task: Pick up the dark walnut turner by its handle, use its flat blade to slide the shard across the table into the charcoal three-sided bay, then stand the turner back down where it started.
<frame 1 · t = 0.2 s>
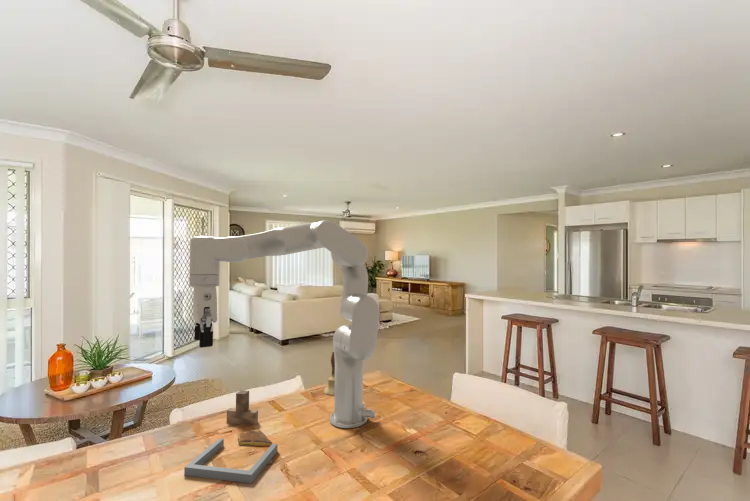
hand: (203, 343, 99), 31 cm above the table, tool pointing down, fingers open, 9 cm apart
bay: (233, 463, 95), on the table
turner: (242, 422, 118), on the table
shard: (257, 441, 108), on the table
hand bell: (333, 392, 146), on the table
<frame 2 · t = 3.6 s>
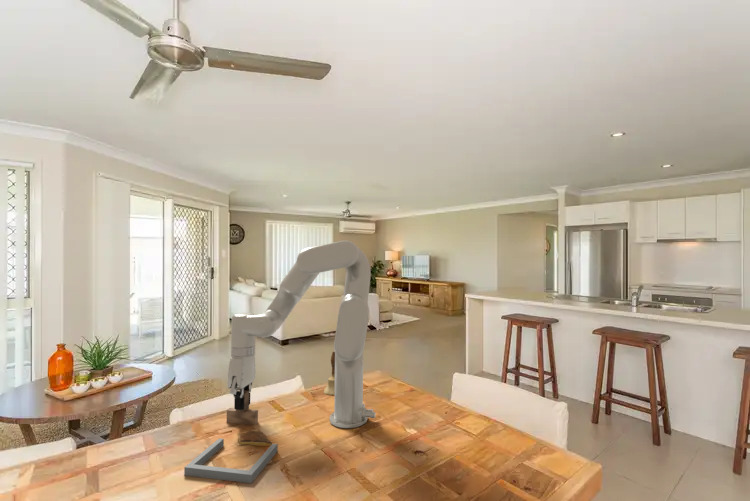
hand: (242, 406, 118), 5 cm above the table, tool pointing down, fingers closed on turner, 3 cm apart
turner: (242, 422, 118), on the table, touching gripper
everything else where it was.
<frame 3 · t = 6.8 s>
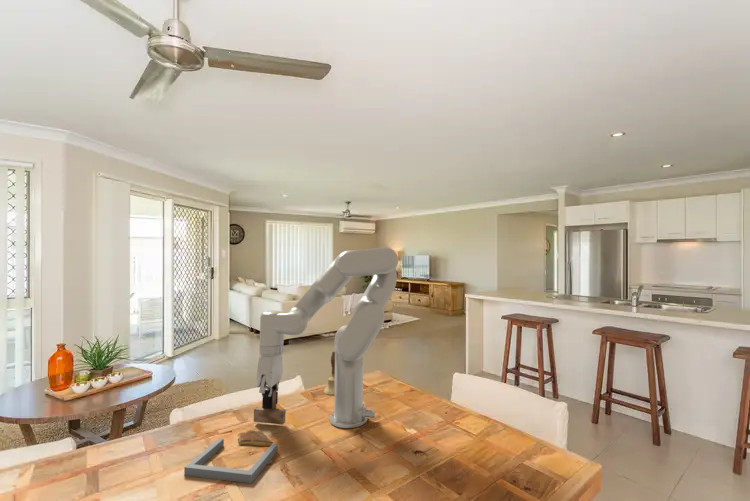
hand: (270, 405, 117), 6 cm above the table, tool pointing down, fingers closed on turner, 3 cm apart
turner: (269, 421, 116), point 1 cm above the table, touching gripper
everything else where it was.
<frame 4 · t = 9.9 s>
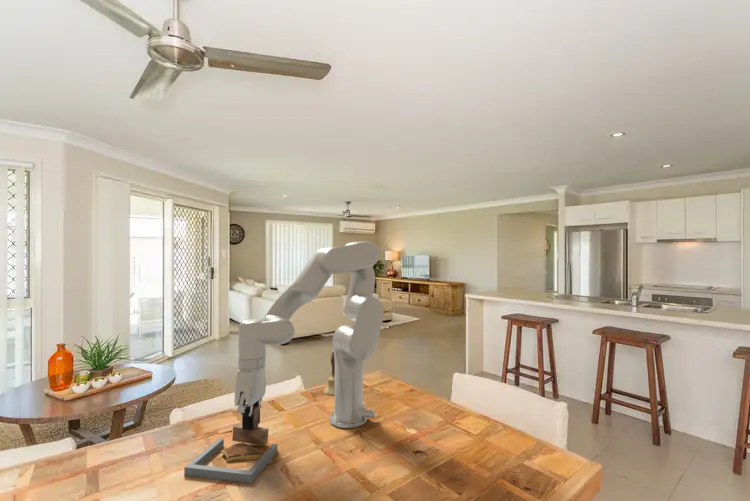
hand: (251, 425, 104), 6 cm above the table, tool pointing down, fingers closed on turner, 3 cm apart
turner: (250, 441, 104), point 1 cm above the table, touching shard, gripper
shard: (244, 454, 100), on the table, touching turner
everything else where it was.
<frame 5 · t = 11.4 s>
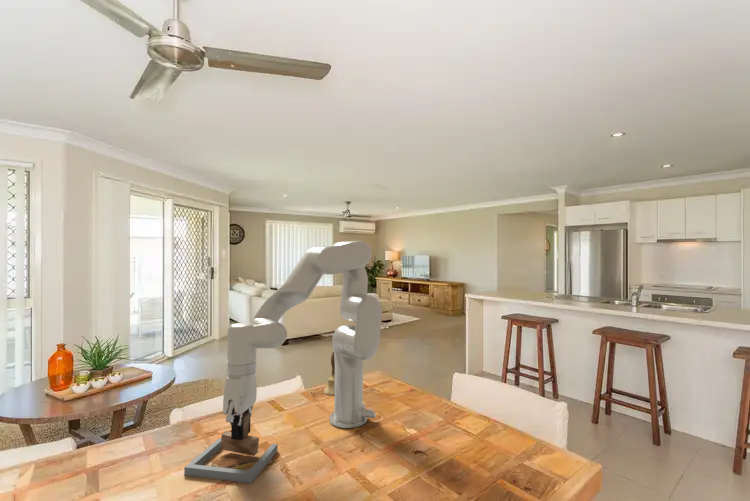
hand: (240, 435, 98), 6 cm above the table, tool pointing down, fingers closed on turner, 3 cm apart
turner: (239, 450, 98), point 1 cm above the table, tilted 5°, touching shard, gripper
shard: (235, 464, 95), on the table, touching turner
everything else where it was.
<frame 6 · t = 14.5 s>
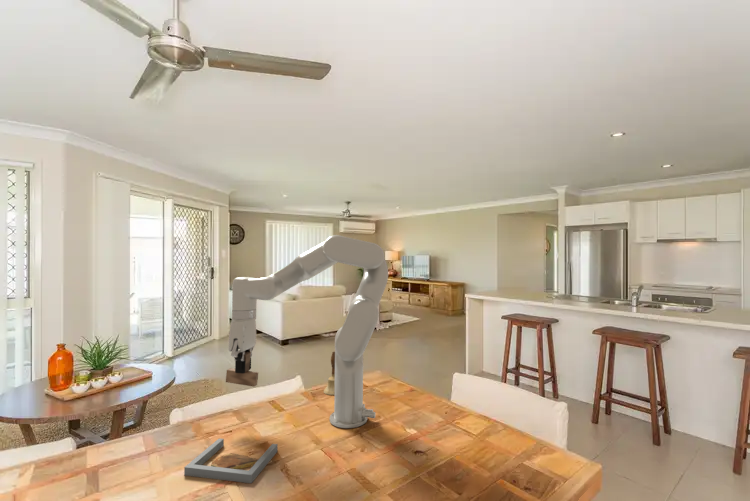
hand: (243, 370, 117), 17 cm above the table, tool pointing down, fingers closed on turner, 3 cm apart
turner: (241, 383, 117), point 13 cm above the table, tilted 5°, touching gripper
shard: (235, 464, 95), on the table
everything else where it was.
when the fingers open (6 cm above the table, at t = 17.0 s): turner drops 2 cm, on the table.
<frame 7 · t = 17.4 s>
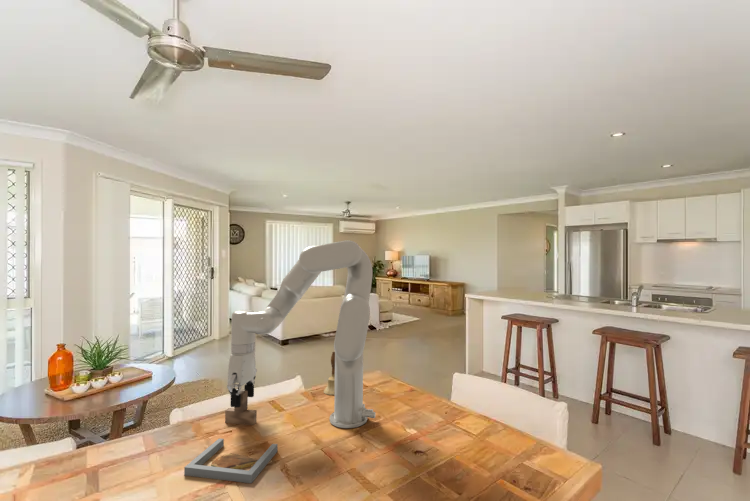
hand: (242, 401, 118), 7 cm above the table, tool pointing down, fingers open, 7 cm apart
turner: (240, 422, 118), on the table
everything else where it was.
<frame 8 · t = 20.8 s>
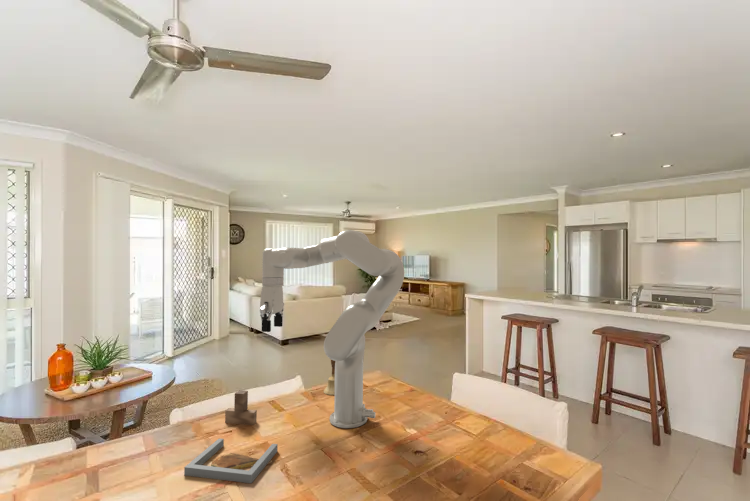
hand: (272, 328, 131), 28 cm above the table, tool pointing down, fingers open, 9 cm apart
nothing on the table moved.
at the end: shard inside the target area on the bay (1.4 cm from its centre), point -0.8 cm above the bay's base; the gripper is holding nothing; turner touching table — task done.
